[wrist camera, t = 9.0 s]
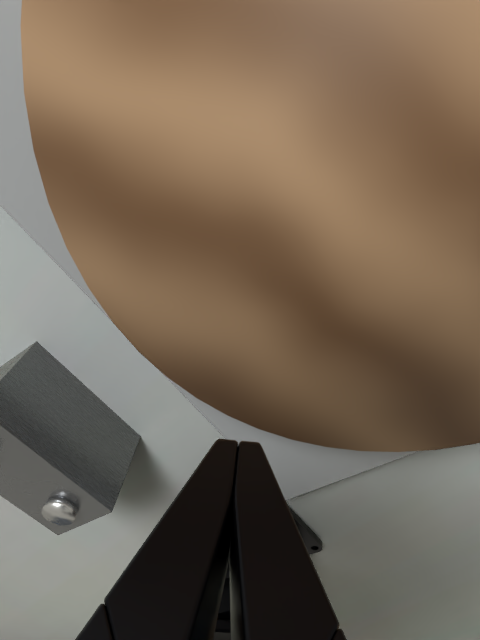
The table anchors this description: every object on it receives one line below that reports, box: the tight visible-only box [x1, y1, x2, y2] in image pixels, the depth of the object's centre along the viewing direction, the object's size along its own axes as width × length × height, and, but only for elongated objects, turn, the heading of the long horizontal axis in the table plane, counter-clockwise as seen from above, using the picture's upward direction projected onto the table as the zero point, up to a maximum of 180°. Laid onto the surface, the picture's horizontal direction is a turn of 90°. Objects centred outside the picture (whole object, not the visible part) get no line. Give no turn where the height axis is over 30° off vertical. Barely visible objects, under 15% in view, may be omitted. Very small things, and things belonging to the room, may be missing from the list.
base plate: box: [0, 0, 418, 500], centre depth 13 cm, size 28×28×4 cm
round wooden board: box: [20, 0, 480, 452], centre depth 12 cm, size 25×25×5 cm
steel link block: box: [0, 341, 140, 535], centre depth 21 cm, size 8×4×5 cm, turn 35°
